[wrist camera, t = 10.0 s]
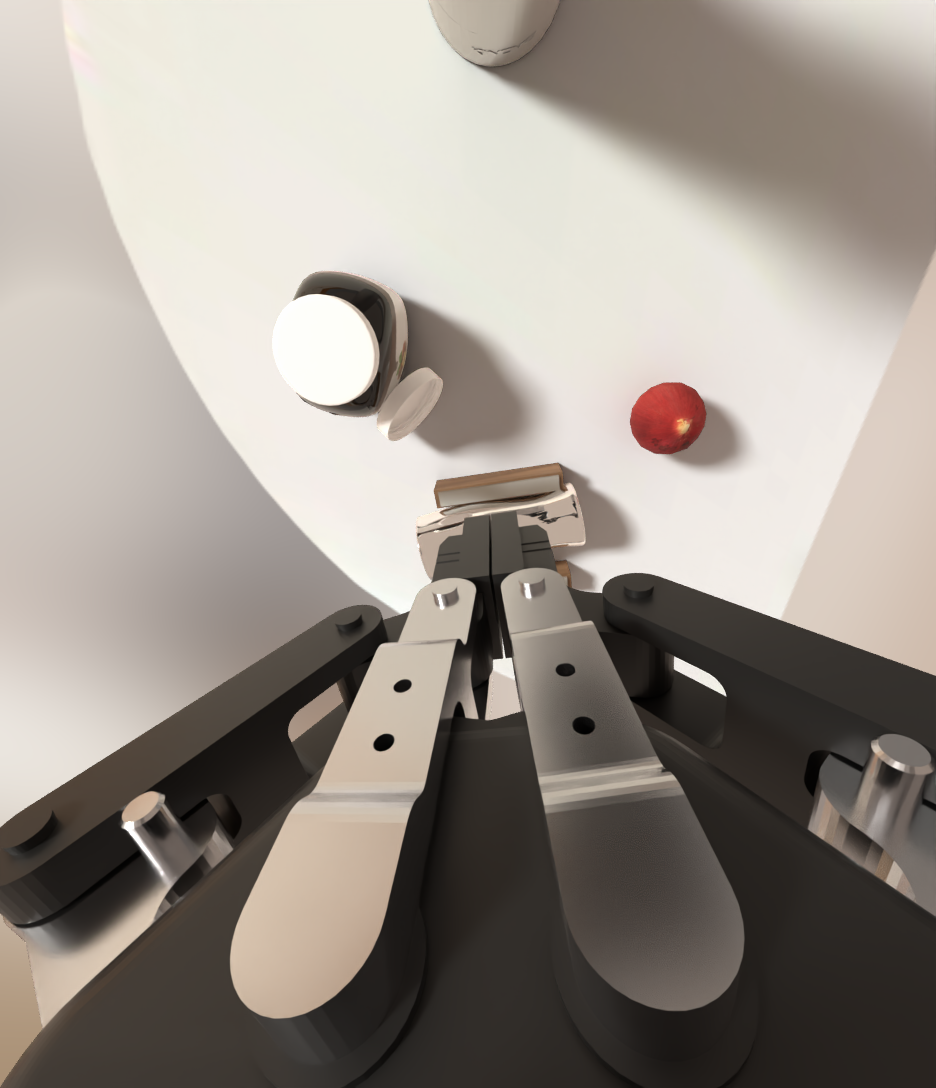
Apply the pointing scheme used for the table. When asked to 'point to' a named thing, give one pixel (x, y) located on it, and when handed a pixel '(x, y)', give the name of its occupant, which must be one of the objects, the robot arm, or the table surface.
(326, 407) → the spread jar
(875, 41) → the table surface
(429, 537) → the beer glass
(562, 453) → the table surface
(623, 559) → the table surface
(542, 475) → the cradle
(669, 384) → the onion
